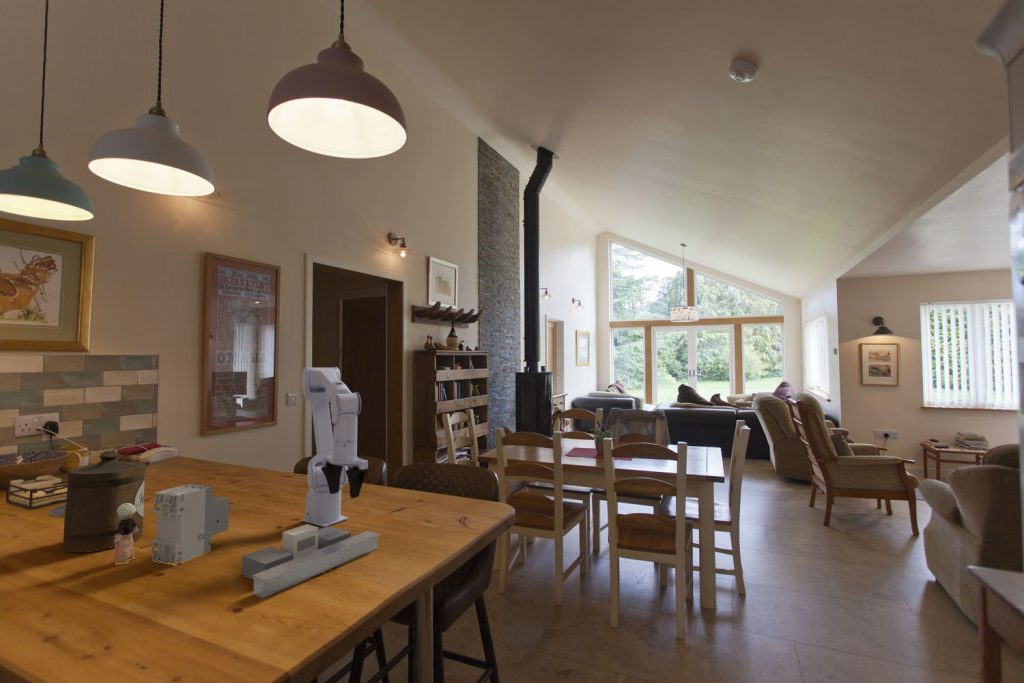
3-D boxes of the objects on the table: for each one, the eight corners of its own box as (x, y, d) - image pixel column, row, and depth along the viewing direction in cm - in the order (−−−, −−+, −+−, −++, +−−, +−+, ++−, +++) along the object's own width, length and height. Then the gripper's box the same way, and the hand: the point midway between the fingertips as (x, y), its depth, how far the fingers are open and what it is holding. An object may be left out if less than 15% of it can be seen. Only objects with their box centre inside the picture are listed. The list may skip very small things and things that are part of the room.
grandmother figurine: (119, 557, 107) (121, 500, 107) (140, 554, 108) (142, 498, 109) (105, 570, 99) (108, 509, 100) (128, 567, 101) (130, 507, 102)
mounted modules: (241, 575, 97) (241, 555, 97) (327, 542, 115) (327, 525, 115) (264, 585, 93) (265, 564, 93) (350, 549, 111) (351, 532, 111)
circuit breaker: (233, 543, 115) (235, 480, 116) (175, 566, 102) (177, 495, 102) (211, 539, 118) (213, 478, 118) (151, 561, 104) (153, 492, 105)
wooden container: (155, 536, 120) (158, 448, 121) (82, 558, 106) (87, 458, 107) (122, 528, 126) (126, 444, 127) (49, 547, 112) (54, 453, 114)
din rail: (251, 594, 89) (252, 575, 89) (366, 545, 113) (367, 530, 113) (264, 599, 87) (264, 580, 87) (378, 549, 111) (379, 533, 111)
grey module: (281, 565, 103) (282, 532, 103) (306, 555, 108) (307, 524, 108) (293, 569, 100) (294, 535, 101) (318, 559, 105) (319, 527, 106)
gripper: (313, 440, 120) (312, 495, 120) (352, 445, 113) (351, 503, 112) (336, 437, 126) (335, 488, 126) (374, 441, 119) (374, 496, 118)
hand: (344, 495), depth 119 cm, fingers open, 7 cm apart
